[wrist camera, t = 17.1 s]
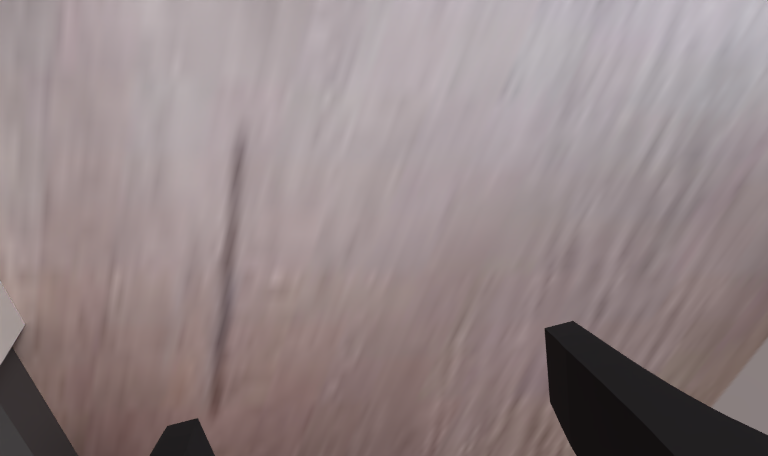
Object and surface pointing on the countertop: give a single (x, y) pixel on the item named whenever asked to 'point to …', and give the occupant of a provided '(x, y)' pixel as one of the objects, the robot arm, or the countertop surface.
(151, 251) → the countertop surface
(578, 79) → the countertop surface
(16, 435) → the plug
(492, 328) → the countertop surface
